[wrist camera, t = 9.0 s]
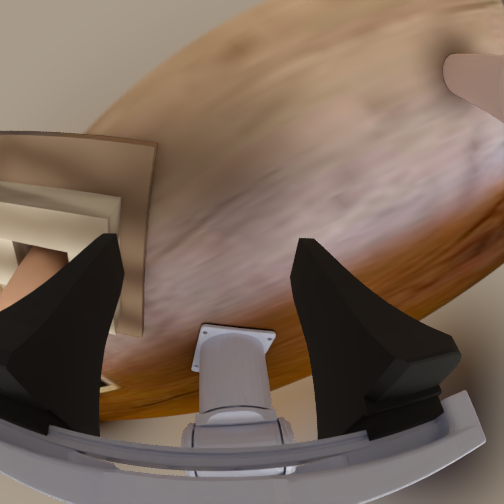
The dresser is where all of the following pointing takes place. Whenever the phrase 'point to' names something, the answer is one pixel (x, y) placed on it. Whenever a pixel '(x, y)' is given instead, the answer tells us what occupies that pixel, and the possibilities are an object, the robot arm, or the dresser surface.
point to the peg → (32, 273)
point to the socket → (77, 204)
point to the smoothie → (477, 80)
